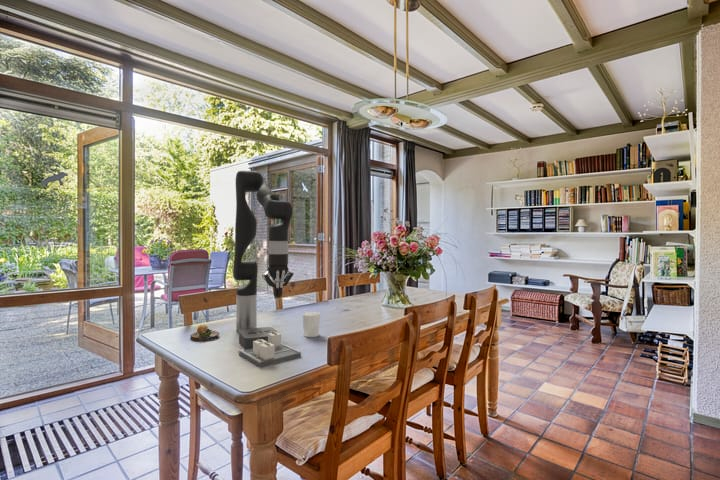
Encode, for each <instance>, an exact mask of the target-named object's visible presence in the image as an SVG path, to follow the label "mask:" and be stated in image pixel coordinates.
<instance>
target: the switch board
mask: <svg viewBox="0 0 720 480" xmlns="http://www.w3.org/2000/svg"><path fill="white" fill-rule="evenodd" d="M301 353H302V352H301V350H298V349H296V348H294V347H292V346H289V345H287V344H286V343H283V342H281V345H280V346H276V347H275V357H274V358H270V359H266V360H265V359H263V358H261V357H260V355H259V356H257V355H256V354H254V353H253V348H251V349H247V350H245V349H239V350H238V356H240V357H242V358H244V359H245V360H247V361H249V362H250V363H251V364H253V365H256V366H257V367H259V368H261V367H265V366H270V365H273V364H277V363H280V362H284V361H288V360H294V359H297V358H300V357H302V356H301V355H302V354H301Z"/></svg>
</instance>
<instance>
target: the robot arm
mask: <svg viewBox="0 0 720 480" xmlns="http://www.w3.org/2000/svg"><path fill="white" fill-rule="evenodd" d="M235 175H236V176H235V197H236V198H235V201H236V205H235V206H236V207H235V224H234V225H235V227H234V229H235V230H234V232H235V233H234V234H235V235H234V239H235V240H234V242H235V243H234V257H233V269H232V270H233V271H232V275H233V278H234V280H236V281H249V282H248V283H246V284H245V285H242V286H240V287H237V289H236V295H235V296H236V297H235V298H236V302H235V303H236V311H235V312H236V313H235V314H236V316H235V317H236V320H235V321H236V322H235V323H236V324H235V325H236V329H235V330H236V331H235V332H237V333H239V331H240V330H245V329H253V328H258V325H257V319H258V318H257V316H258V314H257V312H258V311H257V309H258V307H257V305H258V304H257V303H258V297H257V295H258V293H257V292H258V262H257V261H256V260H243V257H244V254H245V252H246V250H247V249H248V247H250V245H251V243H252V242H253V241H254V239H255V238H256V235H257V225H258V223H257V222H258V221H257V219H256V216H255V213H253V210H252V209H251V208H250V206H249V205H248V202H247V198H246V193H255V192H256V199H257V201H258V203H259V204H260V205H261V206H262V208H263V210H264V215H265V217H267V218H268V219H271V220H280V221H279V222H278V223H277V224H275V225H271V226H269V229H268V249H267V250H268V251H267V253H268V254H267V266H268V267H267V271H266V272H265V273H262V275H261V277H262V278H263V280H264V281H265V283H267V284H268V286H269V287H271V288H273V296H274V297H275V298H276V299H280V298H282V295H283V288H284V287H285V286H288V284H289V283H290V280H291V279H292V278H293V276H294V272H291V271H290V270H289V267H288V265H289V243H288V239H289V237H288V236H289V232H288V231H289V227H290V223H291V219H292V216H293V210H294V209H293V205H292V204H291V203H290V202H289V201H286V200H280V198H279V196H278V195H277V194H276V193H275V192H273V191H272V189H271V188H270V187H269V184H268V183H267V181H266V180H265V177H264V175H263V174H261V173H260V172H259V171H257V170H238V171H237V172H236V174H235ZM270 277H271V278H270Z"/></svg>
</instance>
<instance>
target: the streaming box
mask: <svg viewBox="0 0 720 480" xmlns="http://www.w3.org/2000/svg"><path fill="white" fill-rule="evenodd" d="M272 332H277V333H279V334H280V332H279V331H278V330H276V329H275V328H274V327H271V326H263V327H262V326H261V327H257V328H253V329H245V330H240V331H239V332H238V343H239V345H240V346H241V347H242V349H243V350H247V349H251V348H253V341H256V340H258V339H263V340H265V341H267V343H268V334H269V333H272Z"/></svg>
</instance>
